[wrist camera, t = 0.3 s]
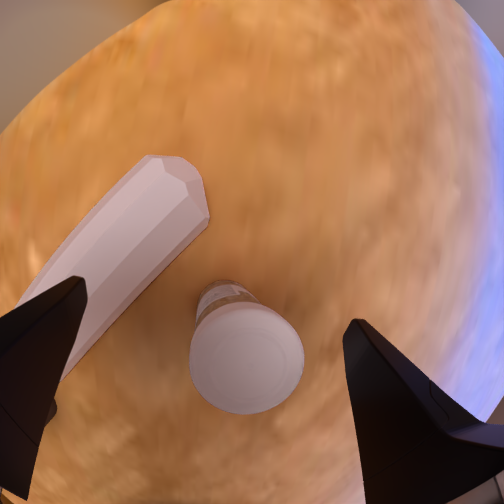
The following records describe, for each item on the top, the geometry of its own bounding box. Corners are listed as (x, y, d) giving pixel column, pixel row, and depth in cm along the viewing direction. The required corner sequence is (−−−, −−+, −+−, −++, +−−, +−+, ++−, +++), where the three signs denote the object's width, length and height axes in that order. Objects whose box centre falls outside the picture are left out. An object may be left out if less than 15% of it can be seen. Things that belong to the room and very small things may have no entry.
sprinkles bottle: (261, 319, 24) (323, 387, 11) (210, 342, 24) (221, 434, 10) (238, 269, 24) (280, 288, 11) (186, 292, 23) (166, 340, 10)
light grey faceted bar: (145, 113, 19) (-27, 326, 16) (200, 152, 16) (-8, 396, 14) (182, 169, 26) (28, 341, 23) (233, 212, 23) (54, 399, 20)
